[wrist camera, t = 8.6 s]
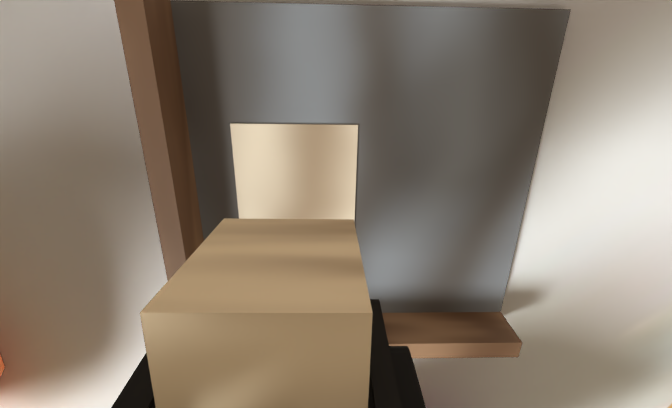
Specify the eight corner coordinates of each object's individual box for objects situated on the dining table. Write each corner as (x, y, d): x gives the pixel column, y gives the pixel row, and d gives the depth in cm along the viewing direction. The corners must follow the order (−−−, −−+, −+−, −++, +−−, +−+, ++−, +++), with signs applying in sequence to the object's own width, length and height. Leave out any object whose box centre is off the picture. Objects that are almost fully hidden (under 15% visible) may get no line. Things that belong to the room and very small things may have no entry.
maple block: (223, 218, 11) (136, 316, 6) (353, 219, 11) (373, 316, 6) (240, 421, 13) (187, 613, 8) (347, 421, 13) (358, 611, 8)
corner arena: (201, 322, 21) (183, 360, 18) (151, 2, 15) (111, -13, 12) (493, 319, 22) (518, 356, 19) (563, 11, 16) (615, -1, 13)
